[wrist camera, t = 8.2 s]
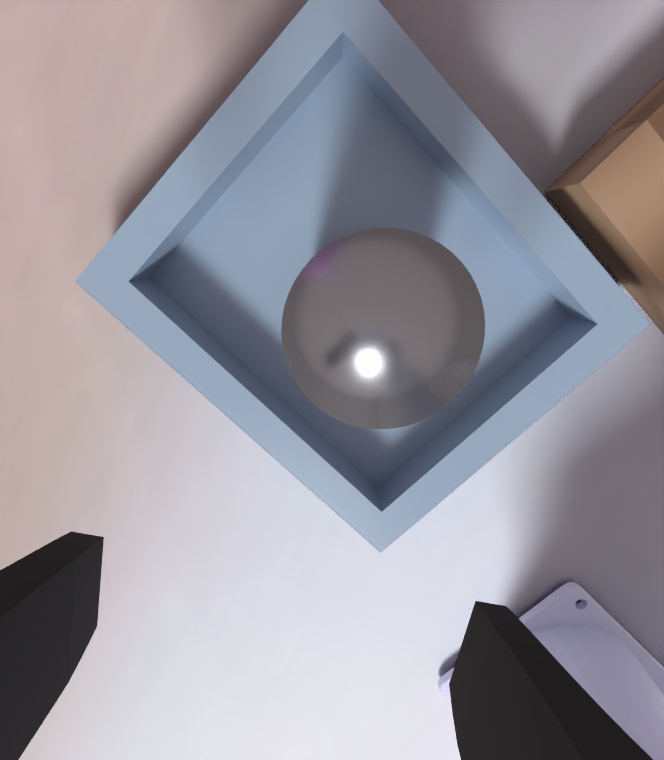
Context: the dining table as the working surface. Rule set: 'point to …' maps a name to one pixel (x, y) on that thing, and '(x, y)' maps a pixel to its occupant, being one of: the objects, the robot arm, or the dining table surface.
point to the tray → (343, 217)
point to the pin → (383, 328)
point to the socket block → (624, 201)
